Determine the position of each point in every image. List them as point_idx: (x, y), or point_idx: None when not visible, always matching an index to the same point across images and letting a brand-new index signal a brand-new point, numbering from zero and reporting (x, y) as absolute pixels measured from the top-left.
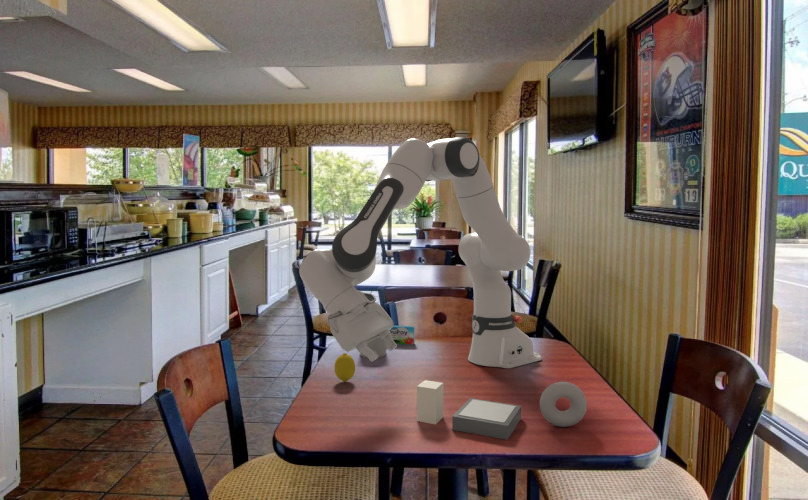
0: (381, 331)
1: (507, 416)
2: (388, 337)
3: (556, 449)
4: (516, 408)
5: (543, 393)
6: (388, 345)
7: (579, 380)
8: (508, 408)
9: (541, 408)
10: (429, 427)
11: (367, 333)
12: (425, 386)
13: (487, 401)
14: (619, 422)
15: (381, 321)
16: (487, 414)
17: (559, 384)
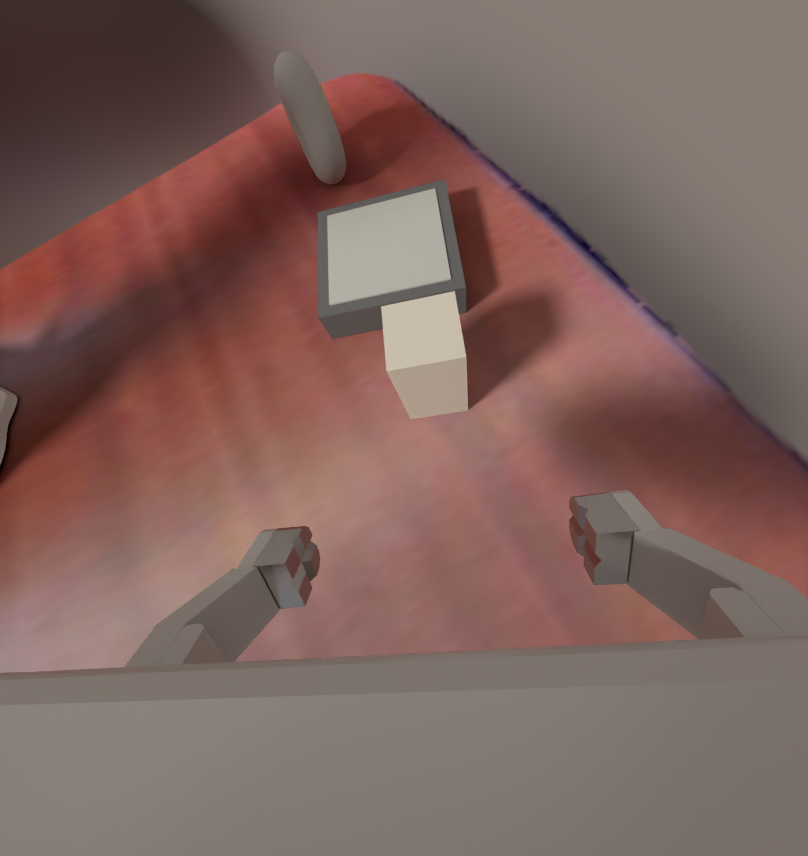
0: (281, 660)
1: (397, 199)
2: (220, 620)
3: (436, 143)
4: (337, 211)
5: (318, 116)
6: (302, 578)
7: (78, 250)
8: (349, 219)
9: (338, 155)
10: (486, 361)
11: (683, 703)
12: (451, 331)
13: (323, 275)
14: (273, 131)
15: (21, 833)
16: (410, 232)
17: (300, 62)
